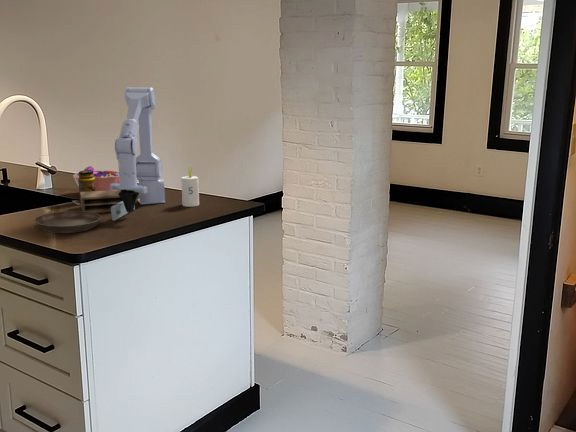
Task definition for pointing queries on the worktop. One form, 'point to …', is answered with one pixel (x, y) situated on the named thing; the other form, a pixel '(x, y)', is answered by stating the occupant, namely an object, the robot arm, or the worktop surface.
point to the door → (118, 210)
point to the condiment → (85, 183)
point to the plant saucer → (68, 221)
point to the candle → (190, 190)
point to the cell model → (102, 178)
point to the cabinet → (99, 200)
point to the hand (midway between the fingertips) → (129, 211)
